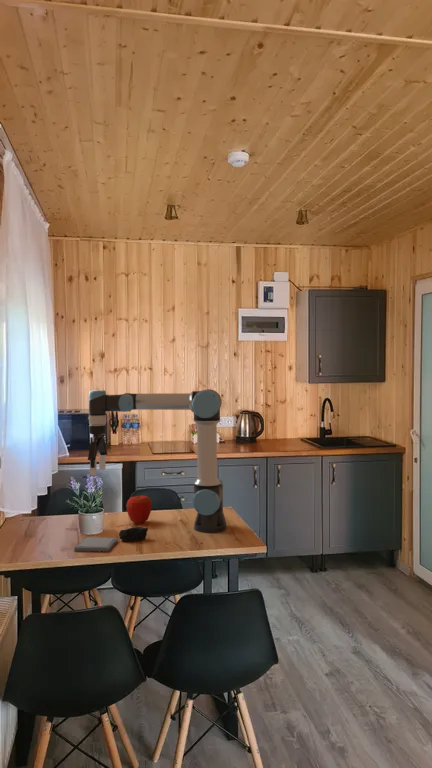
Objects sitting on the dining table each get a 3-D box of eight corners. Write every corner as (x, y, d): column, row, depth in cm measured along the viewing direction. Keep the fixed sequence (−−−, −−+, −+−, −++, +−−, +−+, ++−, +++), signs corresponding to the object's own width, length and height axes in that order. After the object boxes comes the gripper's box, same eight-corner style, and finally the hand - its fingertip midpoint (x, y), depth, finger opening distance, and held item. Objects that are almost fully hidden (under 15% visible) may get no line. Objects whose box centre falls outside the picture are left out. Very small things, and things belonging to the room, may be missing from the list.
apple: (146, 518, 277) (145, 490, 277) (156, 524, 267) (156, 494, 267) (122, 522, 271) (122, 493, 270) (132, 528, 260) (131, 498, 260)
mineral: (133, 544, 236) (133, 531, 236) (117, 541, 241) (117, 528, 240) (148, 538, 244) (148, 525, 244) (132, 535, 249) (132, 522, 249)
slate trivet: (117, 541, 240) (117, 537, 240) (108, 551, 226) (108, 547, 226) (85, 540, 241) (85, 536, 241) (74, 551, 227) (74, 547, 227)
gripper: (97, 422, 262) (98, 467, 263) (80, 427, 238) (80, 477, 238) (113, 422, 262) (113, 467, 262) (97, 427, 237) (97, 477, 237)
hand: (97, 472), depth 250 cm, fingers open, 13 cm apart
